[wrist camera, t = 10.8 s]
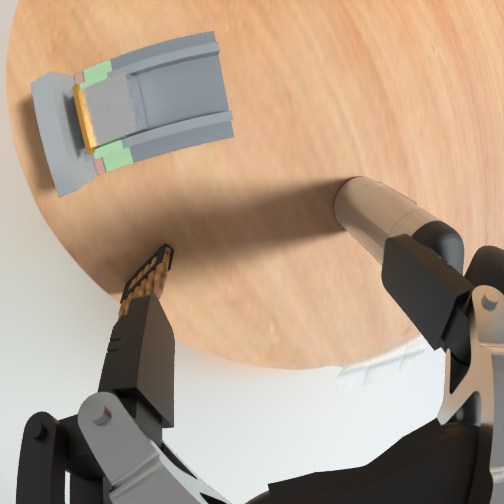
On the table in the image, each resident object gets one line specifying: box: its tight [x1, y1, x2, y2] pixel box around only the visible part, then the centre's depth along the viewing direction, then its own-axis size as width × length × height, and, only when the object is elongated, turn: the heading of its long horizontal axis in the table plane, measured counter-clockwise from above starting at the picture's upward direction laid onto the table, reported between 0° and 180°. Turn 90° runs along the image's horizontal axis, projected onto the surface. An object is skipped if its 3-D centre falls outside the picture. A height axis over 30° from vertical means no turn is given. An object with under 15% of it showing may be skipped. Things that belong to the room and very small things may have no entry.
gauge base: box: [31, 31, 234, 197], centre depth 26 cm, size 22×15×8 cm
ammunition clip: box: [118, 243, 174, 320], centre depth 36 cm, size 11×2×12 cm, turn 130°
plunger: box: [72, 72, 148, 156], centre depth 25 cm, size 6×8×7 cm
